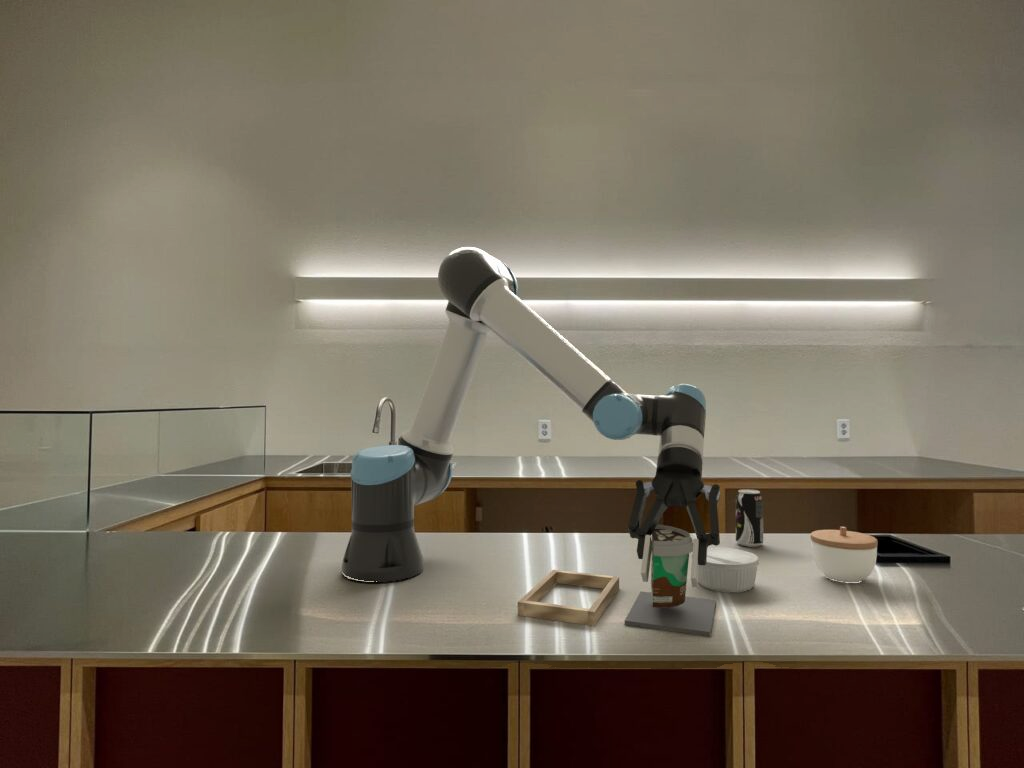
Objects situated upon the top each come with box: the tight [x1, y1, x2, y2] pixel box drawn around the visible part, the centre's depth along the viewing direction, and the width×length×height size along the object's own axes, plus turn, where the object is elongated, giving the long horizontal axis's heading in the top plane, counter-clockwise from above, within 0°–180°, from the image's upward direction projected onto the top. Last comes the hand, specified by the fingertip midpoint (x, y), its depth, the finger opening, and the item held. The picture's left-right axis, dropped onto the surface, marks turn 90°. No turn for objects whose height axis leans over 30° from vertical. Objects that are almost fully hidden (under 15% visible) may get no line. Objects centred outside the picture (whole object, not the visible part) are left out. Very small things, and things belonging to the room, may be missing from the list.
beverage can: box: [734, 488, 764, 548], centre depth 136 cm, size 6×6×12 cm
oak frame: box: [517, 569, 620, 627], centre depth 100 cm, size 12×18×2 cm, turn 159°
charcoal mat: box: [624, 590, 717, 637], centre depth 94 cm, size 12×14×1 cm
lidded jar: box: [810, 526, 879, 582], centre depth 111 cm, size 11×11×9 cm
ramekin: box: [698, 546, 760, 593], centre depth 108 cm, size 11×11×5 cm
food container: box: [650, 524, 693, 608], centre depth 94 cm, size 12×6×10 cm, turn 168°
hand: (668, 579), depth 91 cm, fingers closed on food container, 6 cm apart
